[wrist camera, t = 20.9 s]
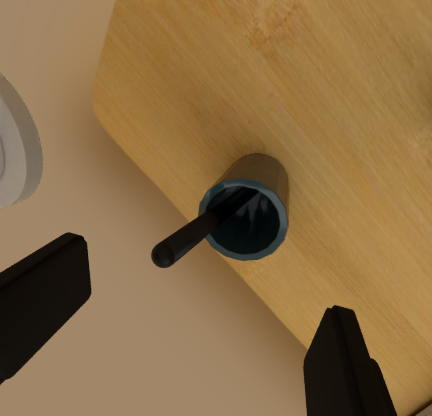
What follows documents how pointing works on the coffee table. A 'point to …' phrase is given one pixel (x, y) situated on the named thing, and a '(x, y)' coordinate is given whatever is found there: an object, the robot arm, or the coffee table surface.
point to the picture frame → (426, 411)
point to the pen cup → (251, 208)
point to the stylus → (199, 228)
